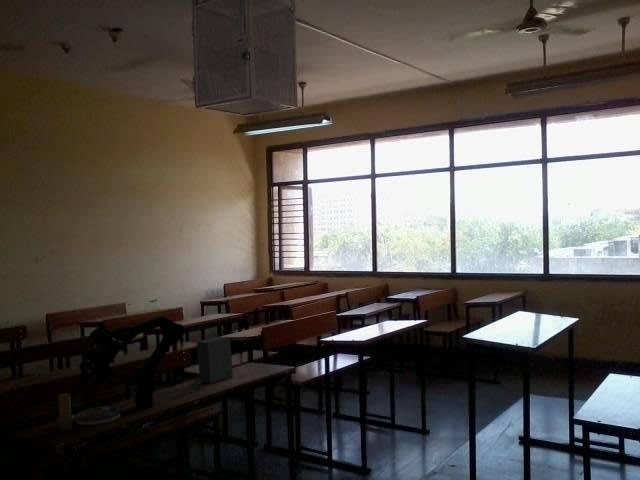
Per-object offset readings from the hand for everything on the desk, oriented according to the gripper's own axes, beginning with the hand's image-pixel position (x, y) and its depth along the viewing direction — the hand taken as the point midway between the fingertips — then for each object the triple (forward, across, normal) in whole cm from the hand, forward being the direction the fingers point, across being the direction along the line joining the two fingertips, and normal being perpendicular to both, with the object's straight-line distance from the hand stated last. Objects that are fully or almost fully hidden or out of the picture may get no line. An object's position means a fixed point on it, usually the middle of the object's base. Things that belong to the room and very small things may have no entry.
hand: (83, 388), depth 232 cm
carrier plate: (+5, -1, +14) cm, 15 cm away
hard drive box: (-42, -12, +62) cm, 76 cm away
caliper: (-24, -1, +43) cm, 49 cm away
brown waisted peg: (+15, 0, +4) cm, 15 cm away
